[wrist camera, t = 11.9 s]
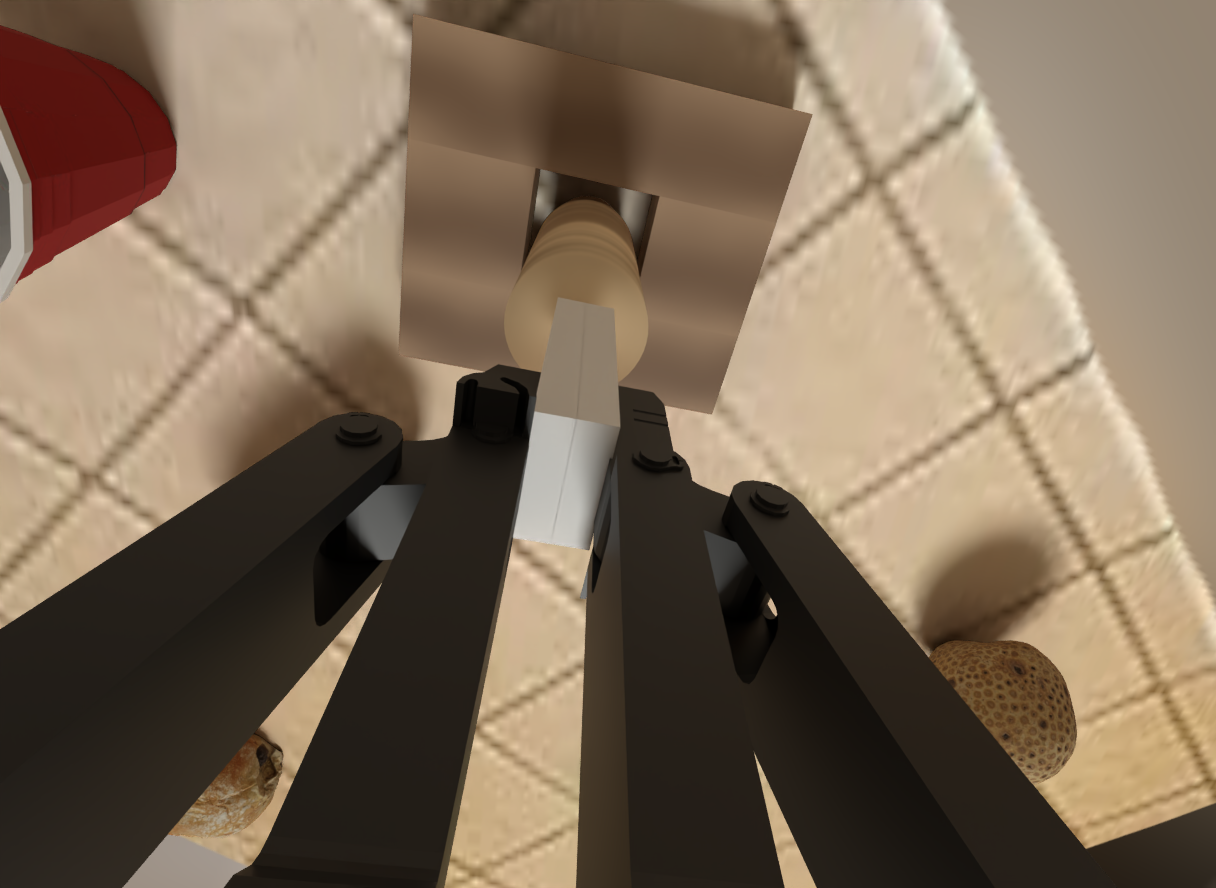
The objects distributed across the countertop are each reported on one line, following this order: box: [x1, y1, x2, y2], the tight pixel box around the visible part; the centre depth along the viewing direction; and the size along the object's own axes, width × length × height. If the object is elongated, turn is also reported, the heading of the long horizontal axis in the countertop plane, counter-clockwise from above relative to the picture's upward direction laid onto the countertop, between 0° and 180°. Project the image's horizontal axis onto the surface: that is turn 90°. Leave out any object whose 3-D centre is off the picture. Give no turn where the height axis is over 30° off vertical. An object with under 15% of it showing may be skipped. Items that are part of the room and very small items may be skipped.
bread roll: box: [168, 734, 283, 838], centre depth 49 cm, size 10×10×8 cm
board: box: [399, 14, 813, 414], centre depth 28 cm, size 14×16×3 cm
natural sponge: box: [929, 640, 1077, 784], centre depth 40 cm, size 9×9×10 cm
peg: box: [504, 196, 648, 382], centre depth 24 cm, size 4×4×14 cm
